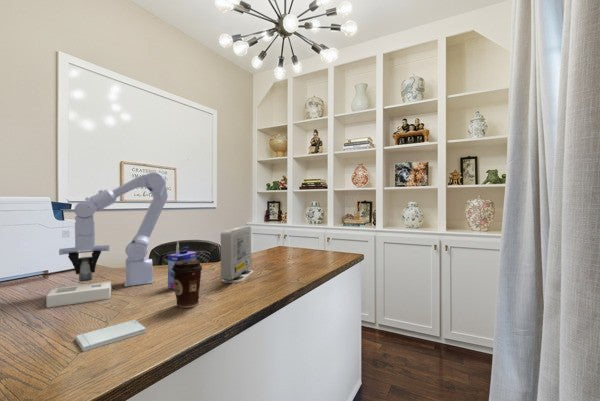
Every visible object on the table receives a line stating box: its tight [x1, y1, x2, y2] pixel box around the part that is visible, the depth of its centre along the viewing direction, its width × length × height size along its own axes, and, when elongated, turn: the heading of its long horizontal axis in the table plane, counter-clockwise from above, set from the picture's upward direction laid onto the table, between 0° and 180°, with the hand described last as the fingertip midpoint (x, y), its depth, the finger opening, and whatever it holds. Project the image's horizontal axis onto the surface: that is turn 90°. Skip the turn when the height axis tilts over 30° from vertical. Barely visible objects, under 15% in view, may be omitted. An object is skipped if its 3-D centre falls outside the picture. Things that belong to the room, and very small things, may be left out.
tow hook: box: [175, 240, 180, 253], centre depth 148 cm, size 8×13×9 cm
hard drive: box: [75, 319, 147, 352], centre depth 70 cm, size 2×8×12 cm
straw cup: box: [167, 246, 198, 290], centre depth 112 cm, size 10×6×14 cm, turn 158°
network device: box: [220, 225, 254, 284], centre depth 124 cm, size 26×9×20 cm, turn 172°
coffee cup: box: [172, 260, 203, 309], centre depth 91 cm, size 9×8×13 cm
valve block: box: [46, 280, 112, 309], centre depth 98 cm, size 16×10×4 cm, turn 120°
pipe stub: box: [78, 256, 93, 282], centre depth 107 cm, size 4×4×8 cm
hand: (85, 272), depth 107 cm, fingers closed on pipe stub, 4 cm apart
